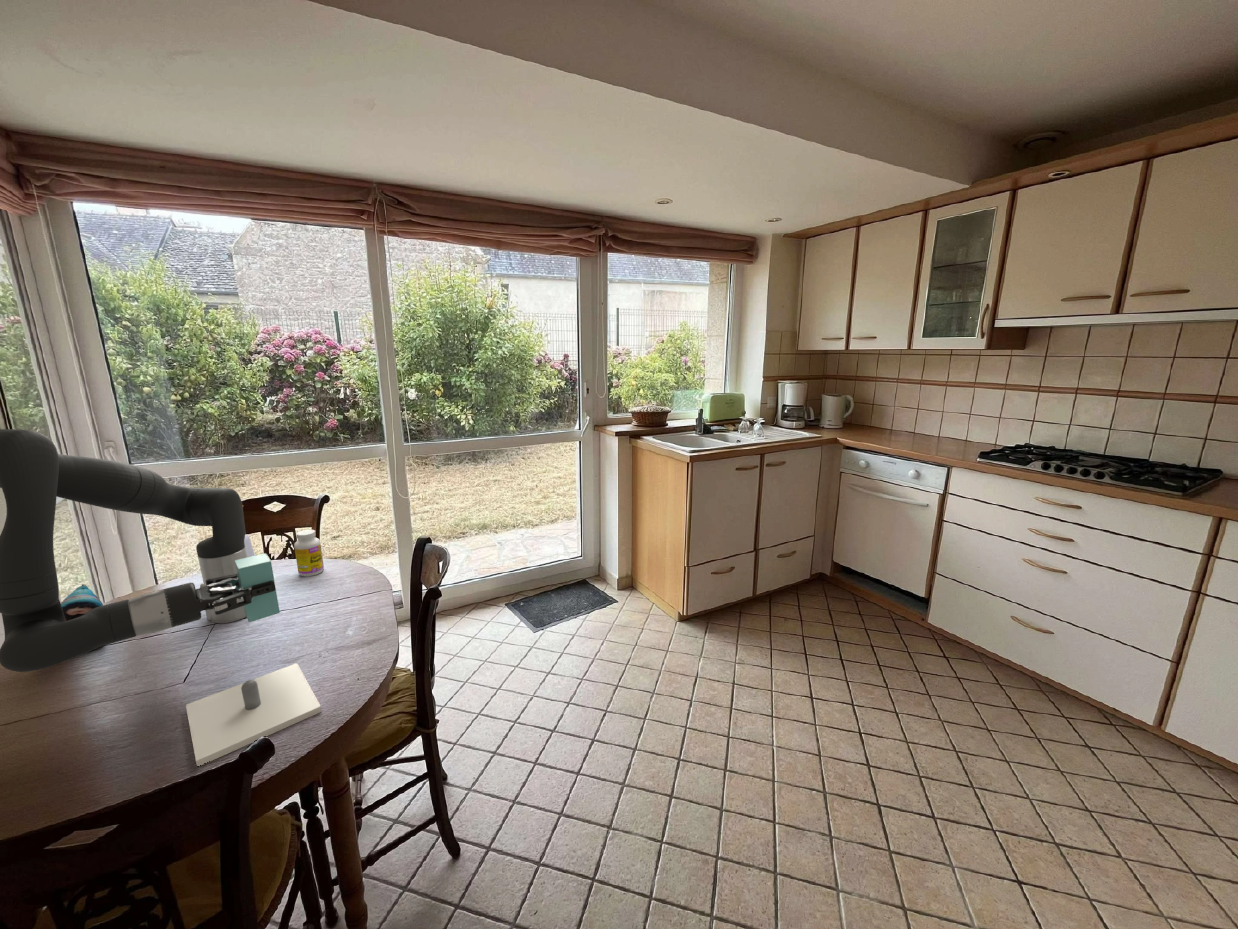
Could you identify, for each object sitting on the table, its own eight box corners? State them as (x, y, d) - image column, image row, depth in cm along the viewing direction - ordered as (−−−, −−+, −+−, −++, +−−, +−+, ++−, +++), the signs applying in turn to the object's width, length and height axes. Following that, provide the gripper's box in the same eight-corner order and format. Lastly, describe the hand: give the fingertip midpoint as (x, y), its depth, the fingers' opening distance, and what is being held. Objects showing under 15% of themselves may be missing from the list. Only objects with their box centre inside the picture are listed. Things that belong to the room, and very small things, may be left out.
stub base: (197, 767, 81) (189, 734, 79) (187, 710, 93) (180, 680, 92) (321, 711, 93) (316, 682, 91) (297, 668, 105) (293, 641, 104)
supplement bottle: (312, 578, 146) (306, 537, 143) (293, 576, 147) (286, 535, 144) (329, 568, 152) (323, 529, 149) (311, 566, 153) (305, 527, 150)
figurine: (55, 665, 106) (36, 601, 103) (62, 649, 112) (44, 588, 108) (120, 647, 112) (104, 587, 109) (124, 633, 118) (108, 575, 114)
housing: (248, 622, 102) (238, 568, 99) (244, 612, 106) (234, 560, 103) (279, 613, 106) (270, 560, 103) (274, 603, 109) (265, 553, 107)
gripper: (163, 604, 89) (276, 575, 100) (159, 578, 99) (262, 554, 110) (172, 642, 90) (282, 608, 102) (167, 612, 100) (267, 585, 112)
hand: (271, 580), depth 106 cm, fingers closed on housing, 5 cm apart
